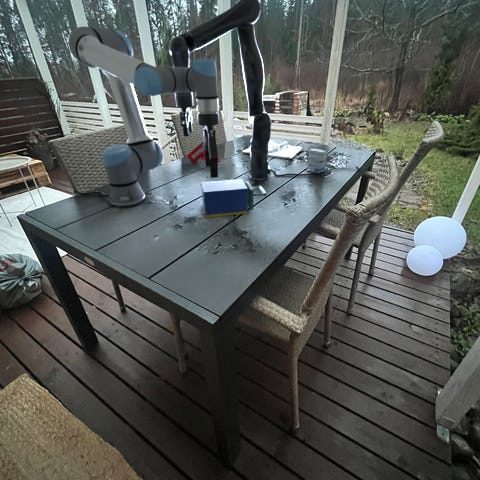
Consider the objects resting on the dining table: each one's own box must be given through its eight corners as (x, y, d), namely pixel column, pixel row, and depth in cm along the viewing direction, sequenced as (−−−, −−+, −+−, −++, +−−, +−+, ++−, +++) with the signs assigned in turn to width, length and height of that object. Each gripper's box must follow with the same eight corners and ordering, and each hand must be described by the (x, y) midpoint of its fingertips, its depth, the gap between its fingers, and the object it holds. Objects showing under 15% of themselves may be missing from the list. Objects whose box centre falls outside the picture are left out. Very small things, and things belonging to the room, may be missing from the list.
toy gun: (223, 158, 167) (209, 137, 163) (221, 160, 164) (206, 138, 160) (204, 173, 177) (189, 154, 173) (201, 175, 174) (186, 155, 170)
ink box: (324, 171, 156) (327, 150, 149) (319, 173, 153) (323, 152, 146) (310, 168, 160) (313, 148, 154) (306, 170, 157) (309, 149, 151)
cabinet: (241, 202, 122) (241, 178, 116) (247, 213, 113) (247, 188, 107) (203, 206, 119) (201, 182, 113) (205, 217, 110) (203, 192, 104)
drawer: (260, 199, 122) (261, 180, 117) (266, 208, 114) (267, 188, 109) (212, 203, 118) (210, 184, 113) (214, 213, 110) (213, 193, 105)
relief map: (291, 159, 177) (291, 151, 174) (243, 153, 190) (243, 145, 187) (302, 149, 197) (303, 142, 194) (258, 144, 211) (258, 137, 208)
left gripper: (193, 108, 104) (198, 162, 116) (201, 118, 84) (206, 183, 95) (212, 107, 106) (215, 161, 117) (225, 117, 85) (227, 181, 97)
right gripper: (189, 96, 110) (193, 137, 119) (195, 93, 122) (198, 131, 131) (171, 96, 111) (176, 137, 119) (178, 93, 123) (183, 131, 131)
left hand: (211, 171), depth 106 cm, fingers open, 13 cm apart
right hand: (188, 134), depth 125 cm, fingers open, 8 cm apart
